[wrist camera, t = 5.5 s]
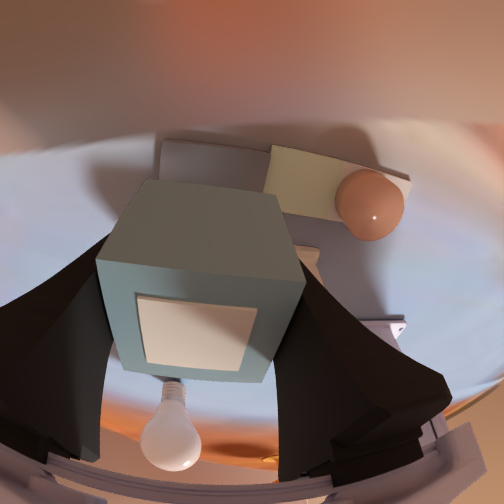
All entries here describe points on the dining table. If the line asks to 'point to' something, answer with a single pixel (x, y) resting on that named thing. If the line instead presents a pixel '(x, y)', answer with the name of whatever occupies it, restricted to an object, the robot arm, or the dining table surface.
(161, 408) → the lightbulb
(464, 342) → the dining table surface
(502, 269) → the dining table surface
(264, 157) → the pad
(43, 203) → the dining table surface
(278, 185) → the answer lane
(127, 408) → the dining table surface
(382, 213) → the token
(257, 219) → the blue-grey cube
